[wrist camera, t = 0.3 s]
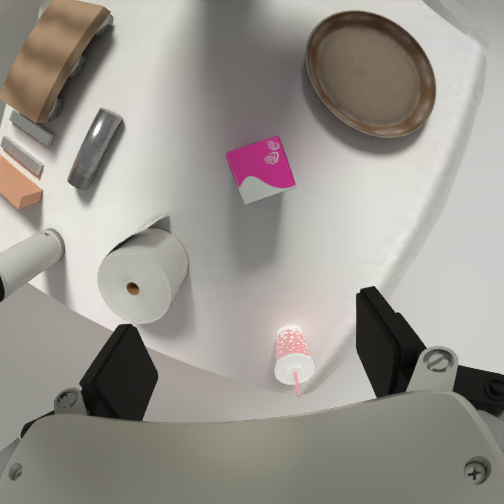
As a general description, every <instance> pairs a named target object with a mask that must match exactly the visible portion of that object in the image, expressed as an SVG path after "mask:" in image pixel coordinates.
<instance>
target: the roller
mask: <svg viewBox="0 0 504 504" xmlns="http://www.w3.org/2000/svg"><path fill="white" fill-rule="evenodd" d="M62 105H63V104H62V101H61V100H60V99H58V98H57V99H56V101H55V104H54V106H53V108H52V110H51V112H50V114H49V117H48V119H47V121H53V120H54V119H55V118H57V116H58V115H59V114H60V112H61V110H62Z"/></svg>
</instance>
